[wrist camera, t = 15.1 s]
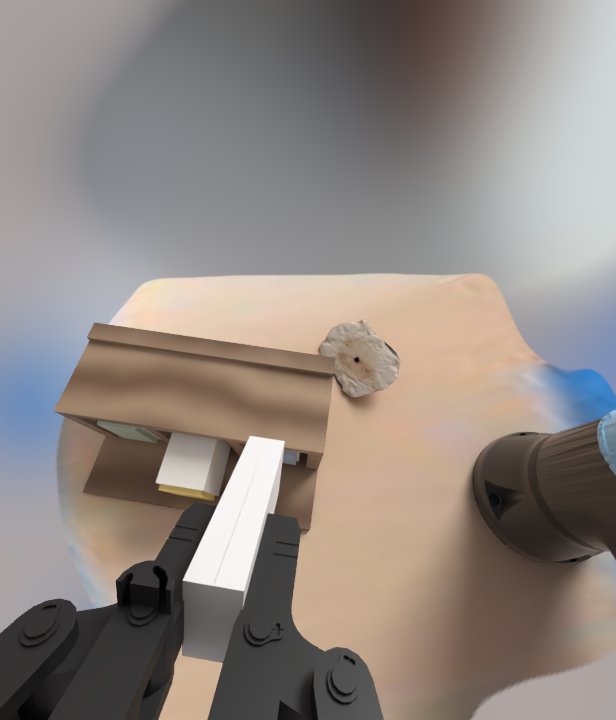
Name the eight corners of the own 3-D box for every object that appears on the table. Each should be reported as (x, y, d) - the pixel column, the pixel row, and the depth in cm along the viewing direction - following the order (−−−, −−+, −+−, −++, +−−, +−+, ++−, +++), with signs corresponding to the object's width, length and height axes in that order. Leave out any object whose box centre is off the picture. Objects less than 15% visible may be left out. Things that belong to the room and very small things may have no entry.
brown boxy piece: (309, 529, 40) (314, 531, 30) (85, 492, 41) (12, 481, 31) (326, 394, 48) (335, 357, 37) (138, 366, 49) (94, 322, 38)
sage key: (160, 444, 43) (135, 429, 36) (123, 438, 43) (91, 422, 37) (179, 390, 46) (159, 367, 40) (144, 384, 47) (118, 361, 40)
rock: (326, 400, 52) (405, 398, 47) (317, 397, 49) (400, 395, 44) (328, 331, 55) (402, 322, 49) (319, 324, 52) (397, 314, 46)
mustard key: (217, 501, 40) (201, 496, 34) (177, 495, 40) (153, 489, 34) (232, 439, 44) (221, 423, 37) (195, 433, 44) (177, 417, 37)
